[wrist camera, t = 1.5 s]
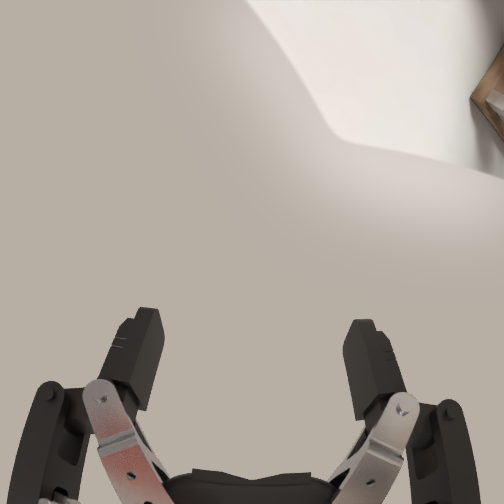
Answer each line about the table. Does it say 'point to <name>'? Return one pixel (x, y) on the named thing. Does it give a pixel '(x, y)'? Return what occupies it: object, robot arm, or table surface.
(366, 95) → the table surface
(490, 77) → the pull frame
